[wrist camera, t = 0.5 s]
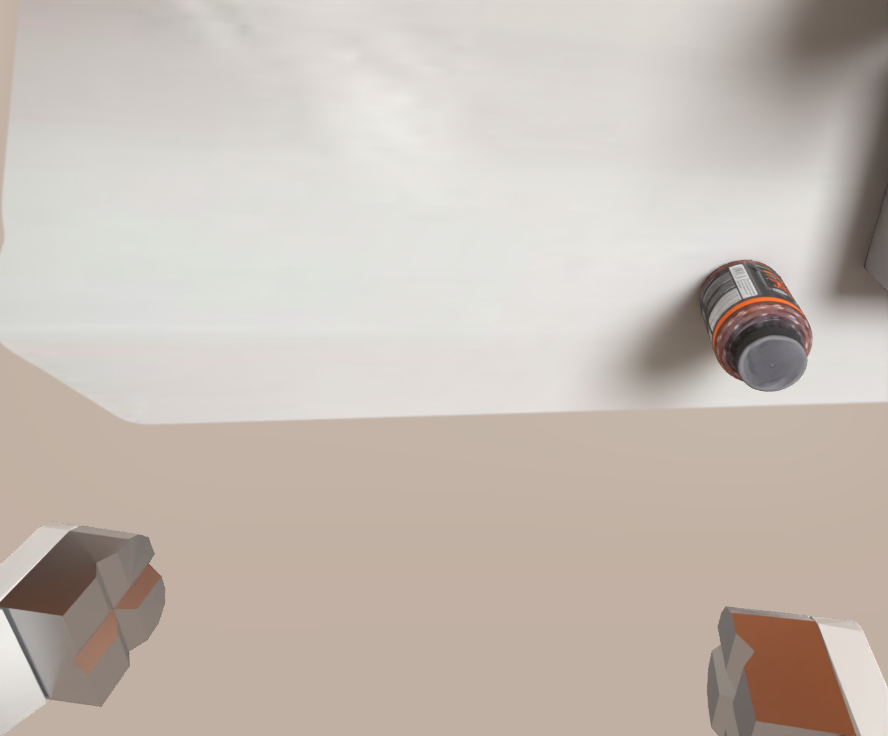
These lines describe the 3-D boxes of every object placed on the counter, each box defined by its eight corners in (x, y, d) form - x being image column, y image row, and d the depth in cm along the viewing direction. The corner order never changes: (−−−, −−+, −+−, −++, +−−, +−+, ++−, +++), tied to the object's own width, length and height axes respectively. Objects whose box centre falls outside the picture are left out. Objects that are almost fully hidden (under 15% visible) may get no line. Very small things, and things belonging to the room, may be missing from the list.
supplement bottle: (799, 295, 51) (848, 369, 41) (731, 343, 53) (761, 423, 44) (748, 240, 49) (786, 303, 40) (681, 292, 52) (701, 363, 43)
